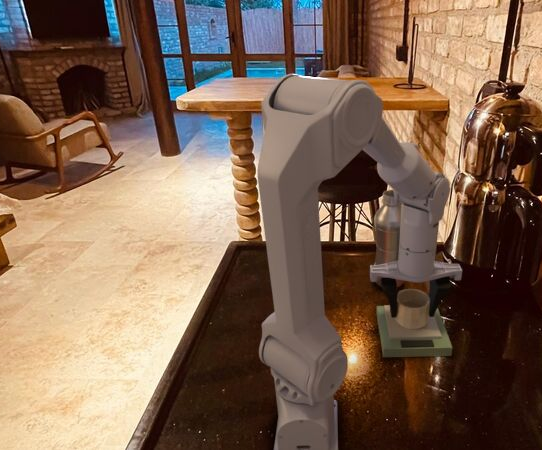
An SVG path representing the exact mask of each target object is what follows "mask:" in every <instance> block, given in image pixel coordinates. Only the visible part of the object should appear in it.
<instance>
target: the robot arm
mask: <svg viewBox="0 0 542 450" xmlns="http://www.w3.org/2000/svg"><path fill="white" fill-rule="evenodd" d="M383 103H384V102H383V99H382V98H381V96H379V95H378V94H377V93H376V91H375V89H374V87H373V86H372V85H371V84H370V83H369V82H368V81H366V80H363V79H351V80H347V79H346V80H345V79H337V78H335V79H334V78H326V77H325V78H324V77H313V76H304V75H301V74H298V73H288V74H284V75H283V76H281V77H280V78H279V79H278V80H276V82H275V83H274V84H273V86H272V87H271V88H270V90H269V91H268V92H267V94H266V95H265V96H264V97H263V99H262V100H261V102H260V107H261V108H260V109H261V116H262V117H261V118H262V124H263V137H262V143H261V149H260V153H259V159H258V164H257V169H256V170H257V184H258V191H259V200H260V205H261V206H260V208H261V216H262V222H263V223H262V224H263V230H264V238H265V246H266V254H267V262H268V263H267V264H268V271H269V278H270V286H271V292H272V301H273V308H274V311H273V312H272V313H271V314H269V315H268V316H267V317H266V319H265V320H264V321H262V323H261V339H260V343H259V348H258V357H259V359H260V361H261V362H262V363H263V364H264V365H265V366H267V367H270V375H271V376H272V377H273V380H274V389H275V390H274V391H275V397H276V398H275V399H276V407H277V416H278V417H277V424H276V431H275V440H274V445H273V450H339V432H338V430H339V428H338V423H339V422H338V401H337V400H336V399H335V394H336V393H337V392H338V390H339V389H340V387H341V386H342V384H343V383H344V381H345V379H346V376H347V373H348V366H349V364H348V362H349V361H348V354H347V353H346V352H345V351H344V349H343V344H342V337H341V336H340V334H339V332H338V331H337V330H336V328H335V327H334V326H333V324H332V323H331V322H330V320H329V319H328V317H327V316H326V311H325V308H326V307H325V296H324V295H325V293H324V276H323V260H322V259H323V256H322V241H321V240H322V238H321V237H322V236H321V222H320V220H321V219H320V204H319V187H320V185H321V184H322V182H323V181H326V180H329V179H332V178H335V177H336V176H337V175H338V174H339V173H340V172H341V171H342V170H343V169H344V168H345V167H346V166H347V165H348V164H349V163H350V162H352V160H353V159H354V158H355V157H356V156H357V155H358V154H359V153H360V152H361V151H363V152H365V153H366V154H367V155H368V156H369V157H370V158H372V159H373V160H374V161H375V162H377V163H376V170H377V174H378V175H379V177H380V178H381V179H382V180H383V181H384V182H385V183H386V184H387V185H388V186H389V187H390V188H391V189H392V190H394V198H395V201H396V202H400V203H402V205H401V206H402V208H401V224H400V240H399V256H398V261H395V262H390V263H386V264H381V265H374V264H373V265H372V264H371V265H369V279H370V282H371V283H376V282H377V281H378V280H381V285H382V287H381V289H382V292H383V294H384V296H385V297H386V300H387V302H388V305H390V312H391V317H392V318H396V301H397V295H398V293H399V290H398V289H399V288H397V282H396V279H398V280H404V282H410V283H426V282H429V290H428V296H429V298H430V308H429V316H430V317H434V314H435V312H436V310H437V308H438V307H439V306H440V304H441V302H442V301H443V300H444V298H445V297H446V296H447V295H448V294H449V293H450V292H451V291H452V287H453V286H452V283H451V279H453V280H454V281H461V280H462V278H463V277H462V276H463V268H462V267H461V265H460V263H450V262H444V261H443V262H441V261H437V260H436V253H437V245H438V237H439V236H438V235H439V227H440V221H442V220H443V218H444V215H445V209H446V205H447V203H448V200H449V198H450V195H451V194H450V193H451V183H450V180H449V179H448V178H447V177H446V175H445V174H444V173H441V172H437V171H435V170H434V169H433V168H432V167H431V164H430V162H429V161H428V160H426V159H425V157H423V155H422V153H420V152H419V150H420V149H419V148H420V147H419V146H418V144H417V143H415V142H411V141H399V139H398V137H397V136H396V134H395V132H394V131H393V130H392V128H391V127H390V125H389V124H388V123H387V122H388V121H386V119H385V118H384V116H383V113H384V112H383V109H384V106H383V105H384V104H383ZM438 309H439V308H438Z"/></svg>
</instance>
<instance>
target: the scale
mask: <svg viewBox="0 0 542 450" xmlns="http://www.w3.org/2000/svg"><path fill="white" fill-rule="evenodd" d="M375 312H376V320H377V325H378V326H377V327H378V332H379V339H380V346H381V351H382V358H411V357H412V358H415V357H419V358H420V357H421V358H423V357H452V355H453V344H452V342H451V340H450V336H449V334H448V332H447V329H446V327H445V324H444V321H443V319H442V316H441V313H440V310H439V308H437V310H436V312H435V314H434V317H430V316H429V317H428V322H427V324H426V325H425V326H423V327H421V328H419V329H407V328H405V327H403V326H401V325H400V324H399V323H398V322H397V321H396V319H395V318H392V317H391V312H390V305H389V304H385V305H377V306H376V311H375Z"/></svg>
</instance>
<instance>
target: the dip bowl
mask: <svg viewBox="0 0 542 450" xmlns="http://www.w3.org/2000/svg"><path fill="white" fill-rule="evenodd" d="M429 308H430V298H429V294H427V292H424V291H422V290H421V289H416V288H405V289H402V290H399V291H398V295H397V301H396V318H395V319H396V321H397V322H398V323H399V324H400V325H401V326H403V327H405V328H407V329H419V328H421V327H423V326H425V325H426V324H427V322H428V317H429Z"/></svg>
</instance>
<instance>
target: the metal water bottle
mask: <svg viewBox="0 0 542 450" xmlns="http://www.w3.org/2000/svg"><path fill="white" fill-rule="evenodd" d="M381 204H382V205H381V207H379V208H378V209H377V211H376V212H375V214H374V217H373V223H374V224H373V225H374V233H375V243H376V251H375V259H374V260H375V261H374V264H373V265H381V264H386V263H390V262H395V261H398V256H399V240H400V224H401V208H402V203H400V202H396V201H395V198H394V190H393V189H387V190H385V191H383V193H382V199H381ZM396 282H397V289H399V288H400V287H401V286H402V285H403V284H404V283H405V281H404V280H398V279H396ZM375 283H376V285H377V286H378V287H380V288H382V285H381V280H378V281H377V282H375Z"/></svg>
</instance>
